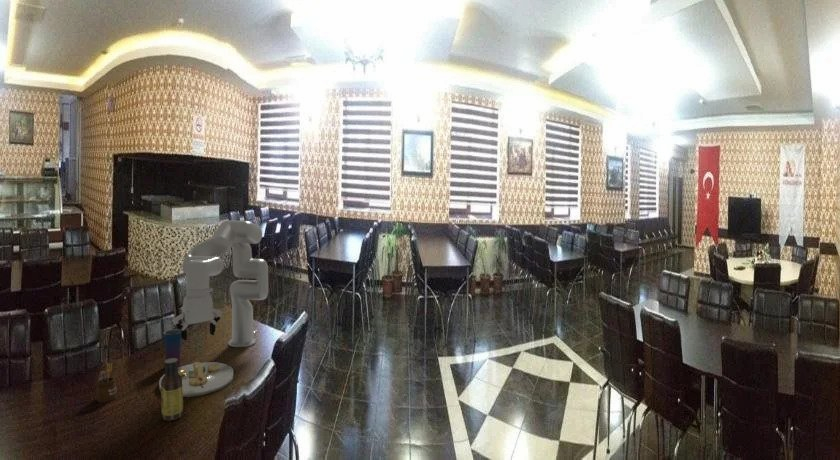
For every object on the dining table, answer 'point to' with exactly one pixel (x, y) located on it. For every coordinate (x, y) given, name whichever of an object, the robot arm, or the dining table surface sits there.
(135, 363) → the dining table surface
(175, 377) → the sauce bottle
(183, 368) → the white round plate
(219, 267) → the robot arm
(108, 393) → the utensil holder
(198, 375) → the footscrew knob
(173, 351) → the cup
